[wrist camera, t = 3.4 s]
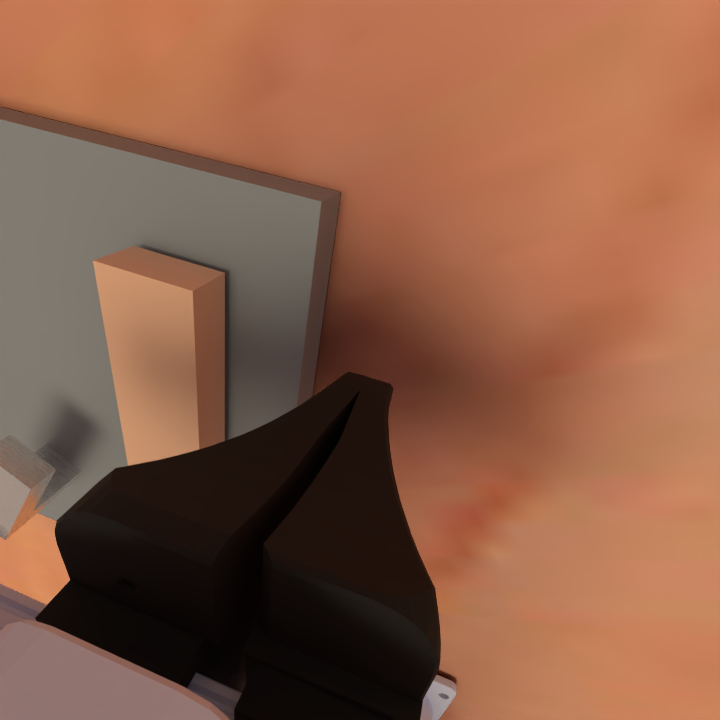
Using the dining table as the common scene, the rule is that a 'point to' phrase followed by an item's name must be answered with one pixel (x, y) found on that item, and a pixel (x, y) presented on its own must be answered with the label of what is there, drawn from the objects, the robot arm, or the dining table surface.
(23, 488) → the keeper
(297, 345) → the board
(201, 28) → the dining table surface
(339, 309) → the dining table surface
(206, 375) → the link
